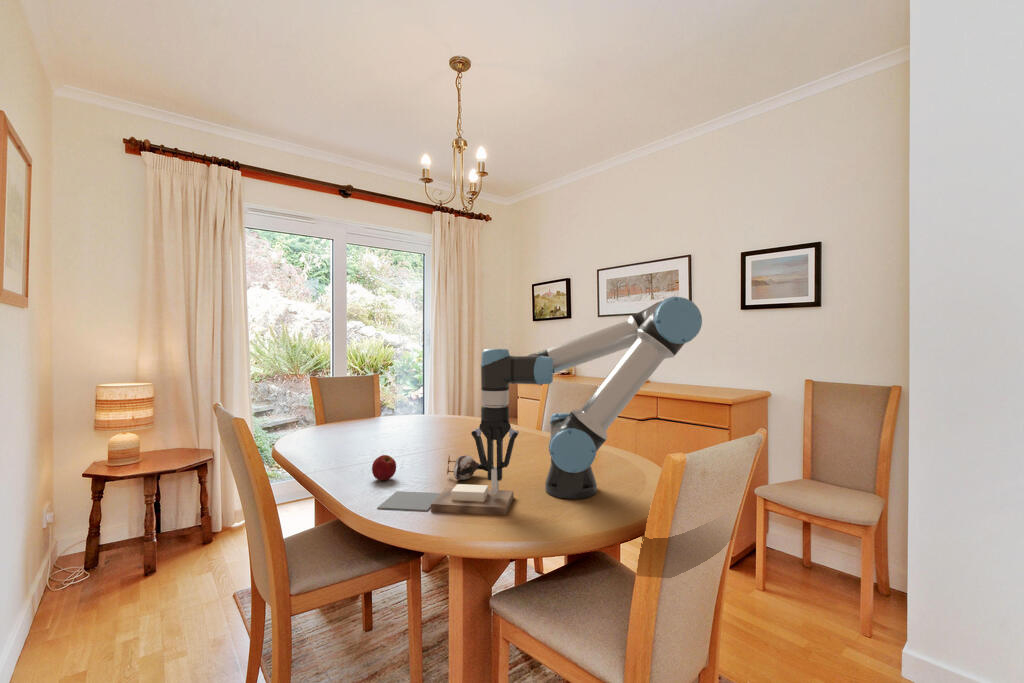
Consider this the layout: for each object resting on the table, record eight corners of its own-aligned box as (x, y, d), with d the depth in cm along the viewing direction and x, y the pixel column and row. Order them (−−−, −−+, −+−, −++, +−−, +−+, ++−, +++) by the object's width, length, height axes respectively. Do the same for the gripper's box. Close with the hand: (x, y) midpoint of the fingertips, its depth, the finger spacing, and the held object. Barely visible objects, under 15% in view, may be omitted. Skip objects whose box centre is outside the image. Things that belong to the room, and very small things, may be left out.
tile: (488, 493, 128) (488, 485, 128) (483, 501, 122) (483, 492, 122) (457, 492, 129) (457, 484, 129) (451, 500, 123) (451, 491, 123)
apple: (371, 485, 143) (371, 459, 143) (372, 477, 151) (372, 453, 151) (396, 482, 145) (396, 457, 145) (396, 475, 153) (395, 451, 153)
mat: (442, 494, 133) (442, 493, 133) (427, 511, 121) (427, 509, 121) (396, 492, 136) (396, 491, 136) (377, 508, 123) (377, 507, 123)
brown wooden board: (513, 497, 130) (513, 490, 130) (505, 515, 117) (505, 507, 117) (445, 494, 133) (445, 487, 133) (430, 511, 120) (430, 504, 120)
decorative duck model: (494, 453, 154) (494, 464, 139) (493, 476, 154) (492, 489, 139) (450, 450, 154) (445, 460, 139) (448, 472, 154) (443, 485, 139)
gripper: (520, 404, 127) (520, 488, 127) (474, 402, 129) (474, 486, 129) (516, 408, 119) (516, 498, 120) (468, 406, 121) (468, 495, 122)
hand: (495, 492), depth 124 cm, fingers closed
